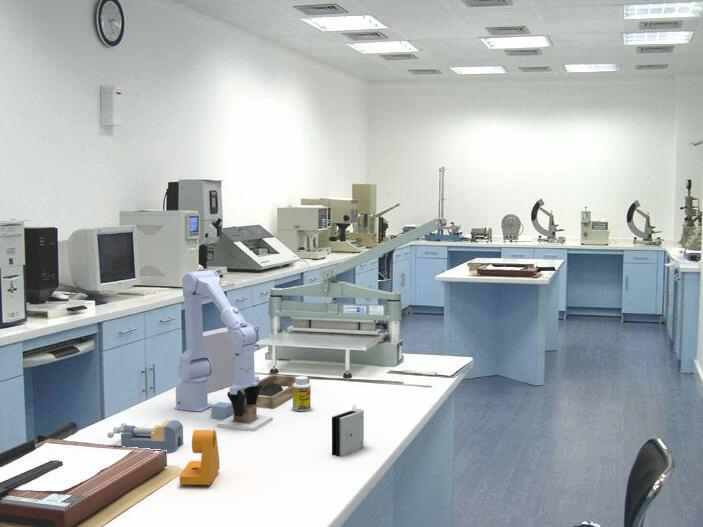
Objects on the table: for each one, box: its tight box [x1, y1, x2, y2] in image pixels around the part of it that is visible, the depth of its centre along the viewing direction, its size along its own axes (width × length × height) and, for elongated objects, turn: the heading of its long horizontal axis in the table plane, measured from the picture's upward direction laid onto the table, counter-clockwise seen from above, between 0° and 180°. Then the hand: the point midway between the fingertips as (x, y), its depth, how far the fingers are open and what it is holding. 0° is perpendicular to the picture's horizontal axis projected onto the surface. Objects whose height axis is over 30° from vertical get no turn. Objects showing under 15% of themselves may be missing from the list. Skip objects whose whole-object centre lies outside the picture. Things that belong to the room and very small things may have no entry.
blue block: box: [210, 401, 233, 421], centre depth 244 cm, size 5×5×4 cm
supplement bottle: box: [292, 375, 311, 412], centre depth 252 cm, size 6×6×10 cm
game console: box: [199, 326, 235, 394], centre depth 282 cm, size 6×27×20 cm, turn 148°
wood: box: [259, 383, 284, 396], centre depth 270 cm, size 22×8×3 cm, turn 171°
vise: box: [106, 419, 184, 454], centre depth 216 cm, size 18×10×7 cm, turn 83°
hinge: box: [331, 404, 365, 457], centre depth 214 cm, size 14×5×10 cm, turn 153°
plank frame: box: [241, 374, 310, 409], centre depth 269 cm, size 14×28×4 cm, turn 159°
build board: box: [216, 414, 274, 432], centre depth 237 cm, size 12×12×1 cm
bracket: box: [179, 429, 221, 486], centre depth 191 cm, size 11×7×12 cm, turn 177°
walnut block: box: [233, 404, 258, 423], centre depth 237 cm, size 5×5×4 cm
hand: (245, 412), depth 237 cm, fingers open, 7 cm apart
